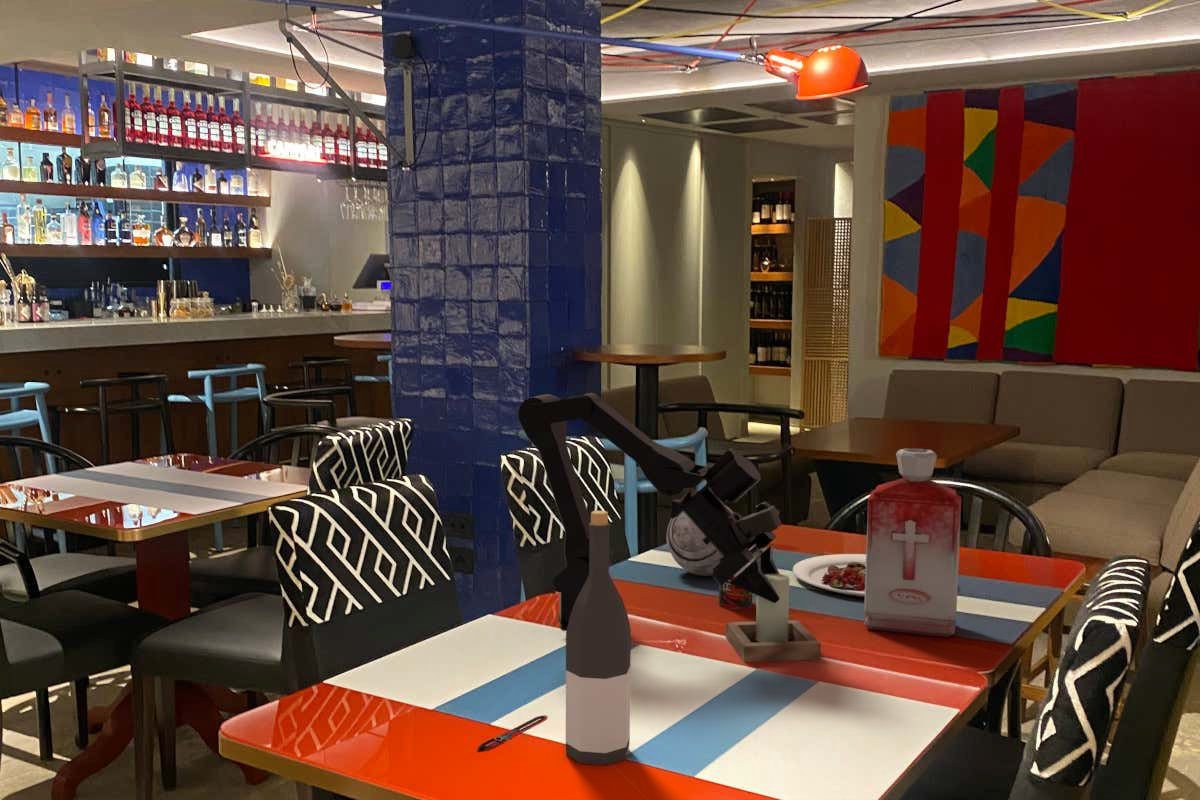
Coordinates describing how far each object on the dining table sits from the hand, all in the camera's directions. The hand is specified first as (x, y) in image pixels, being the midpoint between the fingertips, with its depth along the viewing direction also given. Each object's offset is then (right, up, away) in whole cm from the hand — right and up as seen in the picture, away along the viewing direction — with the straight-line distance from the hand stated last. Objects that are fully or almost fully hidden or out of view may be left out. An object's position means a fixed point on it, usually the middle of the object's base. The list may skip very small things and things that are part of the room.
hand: (781, 596), depth 178 cm
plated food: (+24, -5, +42) cm, 48 cm away
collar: (-1, -8, +1) cm, 9 cm away
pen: (-39, -12, -32) cm, 52 cm away
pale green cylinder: (-1, -7, +1) cm, 7 cm away
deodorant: (-4, -6, +25) cm, 26 cm away
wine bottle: (-29, -13, -38) cm, 49 cm away
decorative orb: (-8, -4, +46) cm, 47 cm away
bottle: (+24, -8, +12) cm, 28 cm away
